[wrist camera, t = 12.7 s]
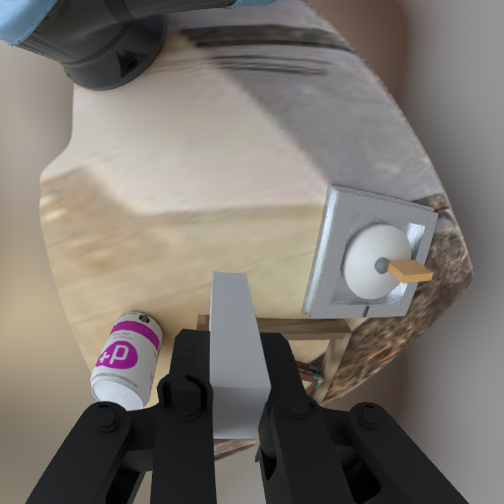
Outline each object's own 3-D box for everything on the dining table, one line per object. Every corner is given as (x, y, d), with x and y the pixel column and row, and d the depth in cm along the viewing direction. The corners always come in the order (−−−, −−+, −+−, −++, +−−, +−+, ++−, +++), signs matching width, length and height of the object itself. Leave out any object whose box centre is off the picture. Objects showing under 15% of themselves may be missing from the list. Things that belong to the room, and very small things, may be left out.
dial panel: (328, 184, 36) (338, 187, 33) (429, 206, 39) (441, 211, 36) (301, 310, 43) (307, 321, 40) (397, 309, 46) (406, 318, 43)
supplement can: (112, 307, 39) (78, 372, 25) (160, 310, 40) (140, 381, 26) (121, 346, 42) (98, 411, 28) (166, 349, 43) (153, 419, 29)
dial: (336, 297, 41) (353, 321, 35) (348, 222, 36) (371, 237, 30) (400, 291, 42) (421, 310, 36) (415, 224, 38) (441, 238, 32)
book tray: (198, 314, 41) (196, 330, 37) (343, 319, 45) (352, 332, 41) (197, 407, 49) (197, 421, 46) (308, 405, 53) (313, 418, 49)
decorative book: (229, 404, 51) (230, 423, 46) (274, 350, 46) (279, 370, 41) (281, 416, 54) (285, 432, 50) (329, 367, 50) (337, 385, 45)
